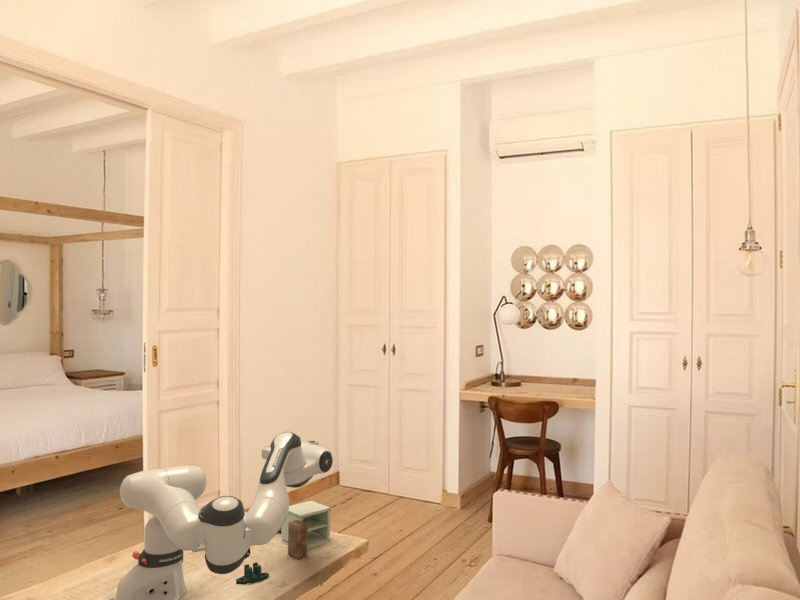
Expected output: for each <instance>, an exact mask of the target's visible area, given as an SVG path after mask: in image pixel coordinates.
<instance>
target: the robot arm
mask: <svg viewBox="0 0 800 600" xmlns="http://www.w3.org/2000/svg"><path fill="white" fill-rule="evenodd" d="M261 458H262V459H263V460H265V462H264V465H263V468H262V471H261V473H260V477H259V482H258V487H257V489H256V490H257V491H256V492H255V497H254V499H253V501H252V503H251V505H250V507H249V509H248V511H247V512H245V511H246V510H245V506H244V504H243V502H242V500H241V499H239V498H237V497H235V496H233V495H220V496H218V497H216V498H214V499H213V500H211V501H208V503H207V504H205V505H204V506H202V508H200V506H199V504H198V503H197V500H198V499H199V498H200V497H201V496H202V495H203V494H204V492H205V489H206V487H207V481H208V480H207V476H206V473H205V471H204V470H203V468H201V467H200V466H198V465H197V466H196V465H186V464H185V465H179V466H177V465H176V466H169V467H163V468H162V467H161V468H155V469H148V470H140V471H138V472H134V473H132V474H129V475H126V477H124V479H123V480H122V482H121V484H120V487H119V497H120V499H121V502H122V503H123V504H124V505H125V506H126V507H127V508H129V509H130V508H131V509H136V510H139V511H140V510H141V511H143V512H146V513H148V514H150V515H151V516H152V517H150V519H149V520H148V521H147V523H146V524H145V526H144V527H145V528H144V542H143V543H144V547H143V550H142V551H141V553H140V552H139V551H138V550H137V551H136V550H134V551H133V552H132V555H131V557H132V558H133V559H134V560H137V561H138V562H137V563H136V565H134V566H133V567H132V568H131V569H130V570H129V571H128V572H127V573H126V574H125V575H124V576H122V577H121V578H120V579H119V581H118V584H117V588H116V593H115V594H112V595H110V596H109V598H108V600H181V598H182V597H183V596H185V594H186V593H187V591H188V589H187V586H186V582H185V578H184V577H185V576H184V570H183V563H184V552H185V551H187V552H188V551H192V550H193V549H196V548H197V547H199V546H201V545H204V546H205V550H204V553H205V554H204V559H205V564H206V567H207V569H208V570H209V571H210V572H212V573H214V574H217V575H228V574H230V573H233V572H234V571H236V570H237V569H238V568H239V567H240V566H241V565H242V564H243V563H244V561H245V560H246V559H248V558H249V557H250V556H251V547H253V546H263V545H266V544H268V543H269V542H270V541H271V540H273V539H274V537H275V536H276V535H277V534H278V531H279V530H280V528H281V527H282V525H283V523H284V521H285V519H286V517H287V515H288V511H289V506H290V498H289V493H288V489H287V488H295V489H296V488H301V487H303V486H304V485H306V484H307V483H309V481H310V480H311V479H312V478H313V477H314V476H316V475H321V474H325V473H328V472H329V471H331V470H330V469H332V466H333V462H334V461H333V454H332V453H331V451H330V450H329V449H327V448H326V447H324V446H321V445H320V444H319V441H318V440H301V437H300V436H299V435H298V434H296V433H295V432H291V431H284V432H281V433H279V434H277V435H276V436H275V437H274V438H273V439H272V441H271V442H270V445H269V446H267V445H266V446H264V447H262V448H261Z"/></svg>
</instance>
